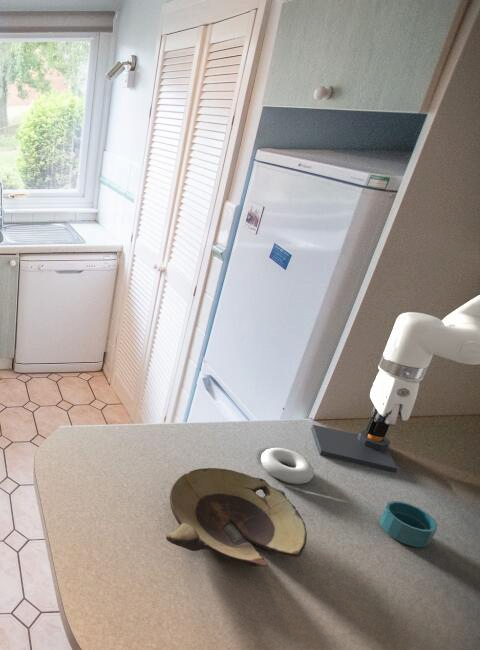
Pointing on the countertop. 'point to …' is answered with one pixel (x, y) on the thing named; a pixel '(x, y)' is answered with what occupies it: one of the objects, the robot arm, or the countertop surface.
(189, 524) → the broken ceramic bowl
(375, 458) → the scale
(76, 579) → the countertop surface
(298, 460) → the donut
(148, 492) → the countertop surface
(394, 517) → the small bowl
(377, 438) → the tare button
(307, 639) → the countertop surface
